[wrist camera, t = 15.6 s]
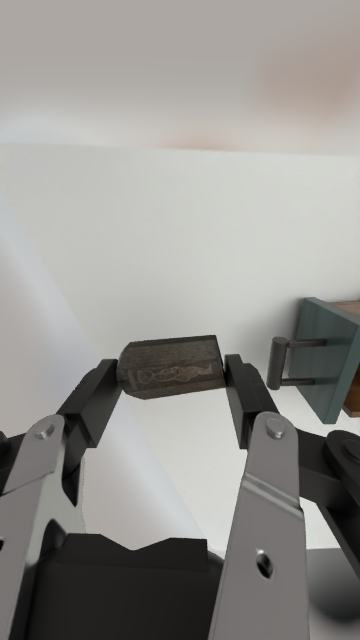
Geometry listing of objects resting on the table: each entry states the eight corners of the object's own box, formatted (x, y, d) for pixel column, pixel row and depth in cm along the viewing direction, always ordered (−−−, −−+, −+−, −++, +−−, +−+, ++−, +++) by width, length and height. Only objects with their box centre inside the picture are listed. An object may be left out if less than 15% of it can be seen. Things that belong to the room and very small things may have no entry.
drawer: (251, 376, 25) (273, 425, 19) (259, 300, 21) (291, 328, 14) (392, 372, 24) (471, 423, 17) (434, 289, 19) (563, 314, 13)
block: (225, 371, 11) (231, 395, 9) (136, 388, 12) (128, 412, 10) (212, 321, 10) (217, 338, 8) (113, 344, 11) (99, 364, 9)
